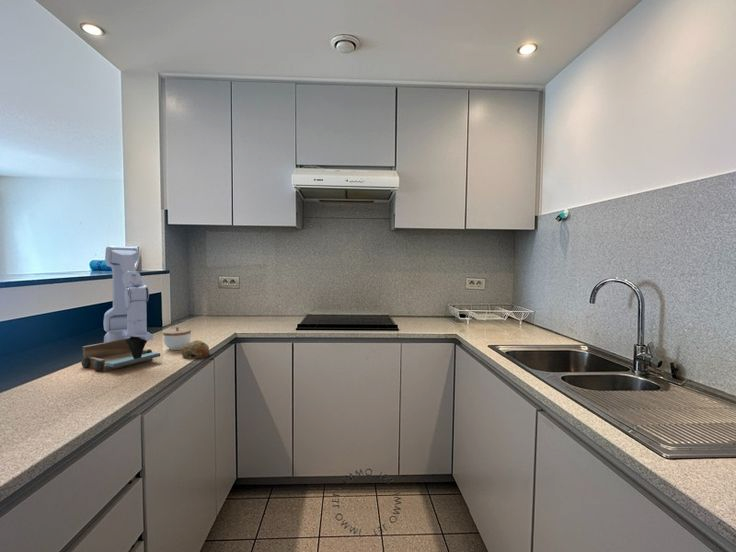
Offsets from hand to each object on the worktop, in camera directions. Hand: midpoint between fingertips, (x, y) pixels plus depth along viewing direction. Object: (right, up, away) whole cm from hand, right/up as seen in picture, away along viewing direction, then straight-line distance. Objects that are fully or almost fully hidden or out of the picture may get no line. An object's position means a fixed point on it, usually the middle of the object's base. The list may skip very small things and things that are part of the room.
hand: (137, 358), depth 121 cm
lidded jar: (-1, -3, +27) cm, 27 cm away
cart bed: (-10, -3, +5) cm, 12 cm away
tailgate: (-4, -1, +2) cm, 5 cm away
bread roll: (+13, -3, +17) cm, 21 cm away
